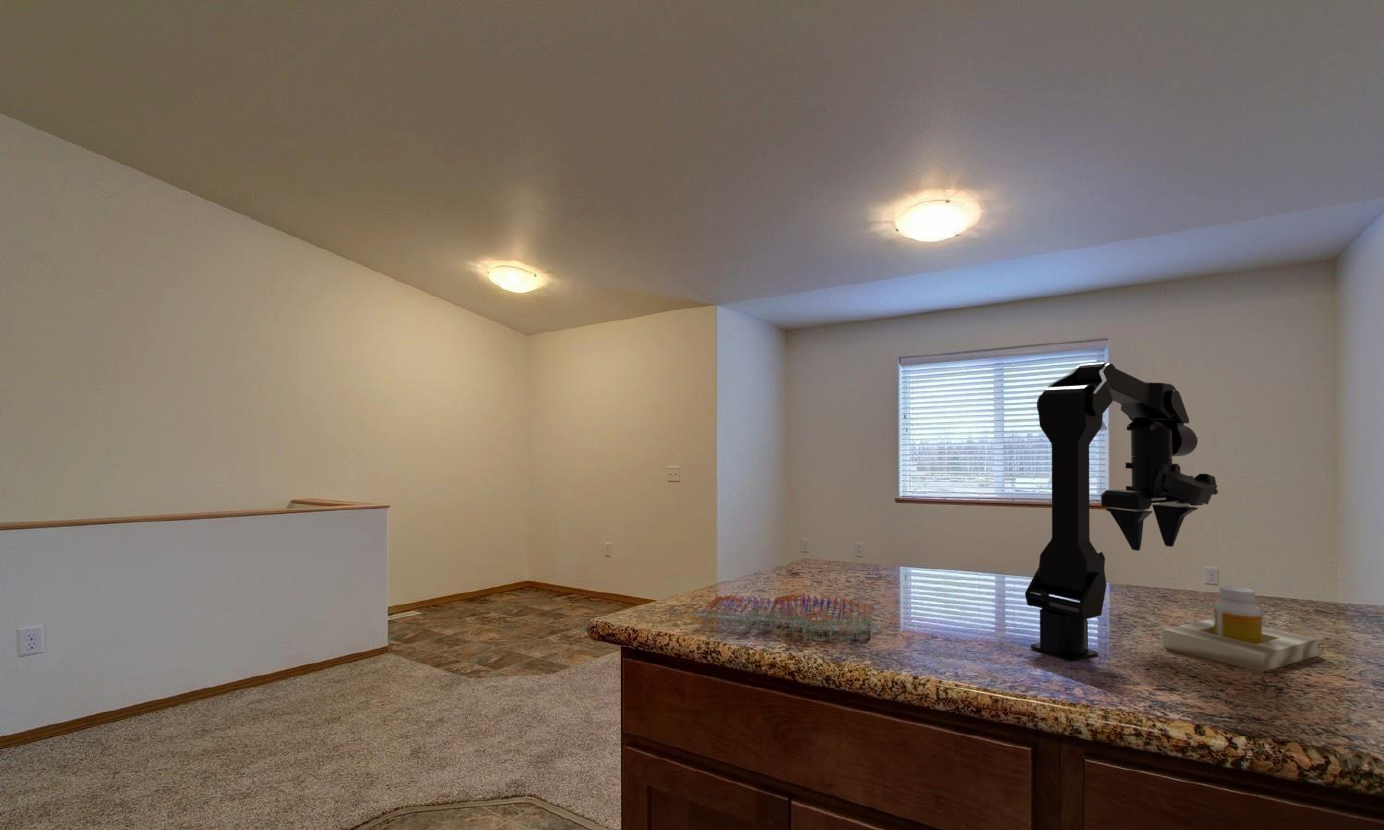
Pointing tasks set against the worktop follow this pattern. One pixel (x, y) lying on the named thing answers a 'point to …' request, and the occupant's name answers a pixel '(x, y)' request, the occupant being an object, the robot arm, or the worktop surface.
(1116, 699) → the worktop surface
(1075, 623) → the robot arm
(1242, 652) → the bored board
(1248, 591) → the supplement bottle
